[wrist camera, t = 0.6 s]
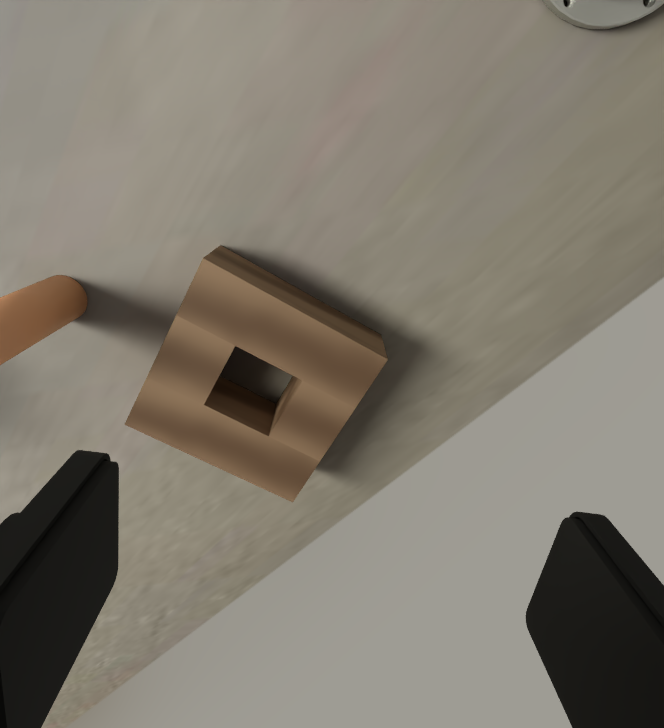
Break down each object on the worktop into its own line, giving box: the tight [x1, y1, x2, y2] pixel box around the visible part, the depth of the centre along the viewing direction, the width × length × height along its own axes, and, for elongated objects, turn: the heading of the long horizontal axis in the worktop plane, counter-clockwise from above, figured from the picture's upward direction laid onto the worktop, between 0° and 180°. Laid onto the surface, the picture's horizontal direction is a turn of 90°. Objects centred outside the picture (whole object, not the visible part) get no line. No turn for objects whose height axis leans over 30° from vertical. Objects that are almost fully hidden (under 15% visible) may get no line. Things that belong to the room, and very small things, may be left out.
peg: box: [0, 275, 87, 365], centre depth 37 cm, size 4×4×14 cm
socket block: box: [125, 245, 388, 502], centre depth 43 cm, size 16×16×6 cm
